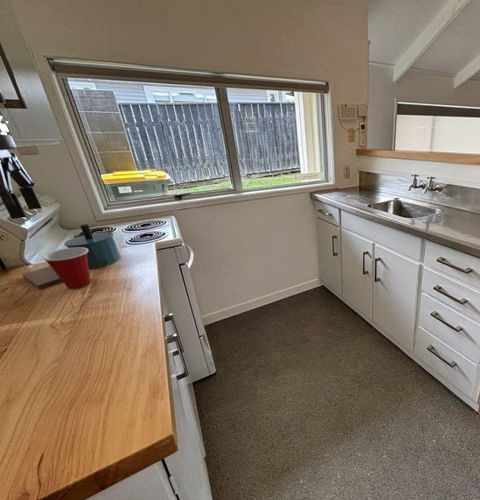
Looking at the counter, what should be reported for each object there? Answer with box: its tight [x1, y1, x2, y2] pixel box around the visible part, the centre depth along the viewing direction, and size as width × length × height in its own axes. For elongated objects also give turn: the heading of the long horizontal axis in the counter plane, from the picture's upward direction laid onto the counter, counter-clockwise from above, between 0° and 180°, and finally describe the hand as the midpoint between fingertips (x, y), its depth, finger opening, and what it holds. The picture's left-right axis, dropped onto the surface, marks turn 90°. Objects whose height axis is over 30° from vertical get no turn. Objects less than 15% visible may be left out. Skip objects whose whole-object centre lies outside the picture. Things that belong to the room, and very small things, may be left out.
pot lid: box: [63, 223, 115, 248], centre depth 108 cm, size 15×15×7 cm
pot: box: [66, 236, 121, 270], centre depth 111 cm, size 14×14×10 cm
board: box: [21, 265, 64, 290], centre depth 102 cm, size 12×18×2 cm, turn 59°
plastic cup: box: [41, 247, 91, 290], centre depth 93 cm, size 11×11×12 cm
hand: (28, 213), depth 82 cm, fingers open, 13 cm apart
